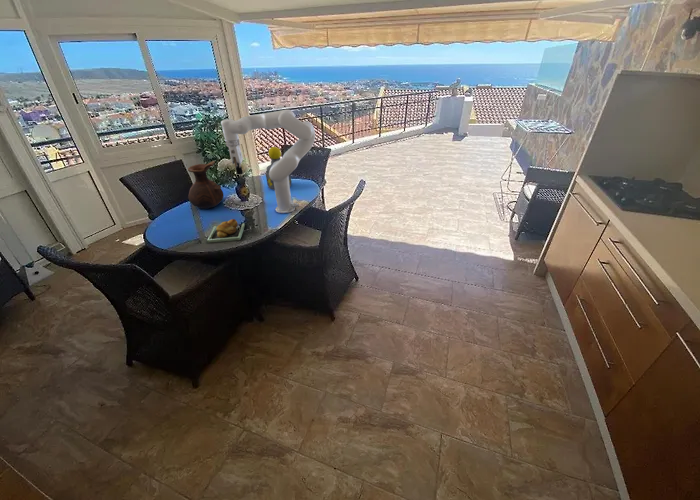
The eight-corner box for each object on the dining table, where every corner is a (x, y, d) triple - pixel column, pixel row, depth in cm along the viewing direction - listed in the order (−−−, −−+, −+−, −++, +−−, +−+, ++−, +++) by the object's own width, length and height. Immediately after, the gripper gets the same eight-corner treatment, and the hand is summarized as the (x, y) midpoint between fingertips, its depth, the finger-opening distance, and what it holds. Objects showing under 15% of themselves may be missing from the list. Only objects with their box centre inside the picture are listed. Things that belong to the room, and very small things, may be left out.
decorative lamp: (297, 184, 232) (292, 145, 215) (280, 192, 219) (274, 151, 202) (279, 180, 240) (273, 142, 224) (262, 188, 227) (254, 148, 210)
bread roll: (224, 241, 161) (220, 228, 157) (211, 237, 165) (207, 224, 161) (241, 230, 171) (238, 218, 166) (229, 227, 174) (226, 215, 170)
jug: (198, 215, 189) (182, 169, 173) (187, 205, 203) (172, 161, 186) (231, 205, 201) (219, 161, 185) (219, 196, 215) (207, 154, 198)
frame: (245, 225, 176) (244, 223, 175) (240, 239, 162) (239, 237, 161) (215, 227, 174) (214, 225, 173) (207, 242, 160) (206, 240, 159)
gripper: (237, 145, 163) (244, 177, 173) (241, 139, 175) (248, 169, 185) (223, 146, 162) (231, 178, 172) (228, 140, 175) (236, 170, 185)
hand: (240, 173), depth 179 cm, fingers closed
